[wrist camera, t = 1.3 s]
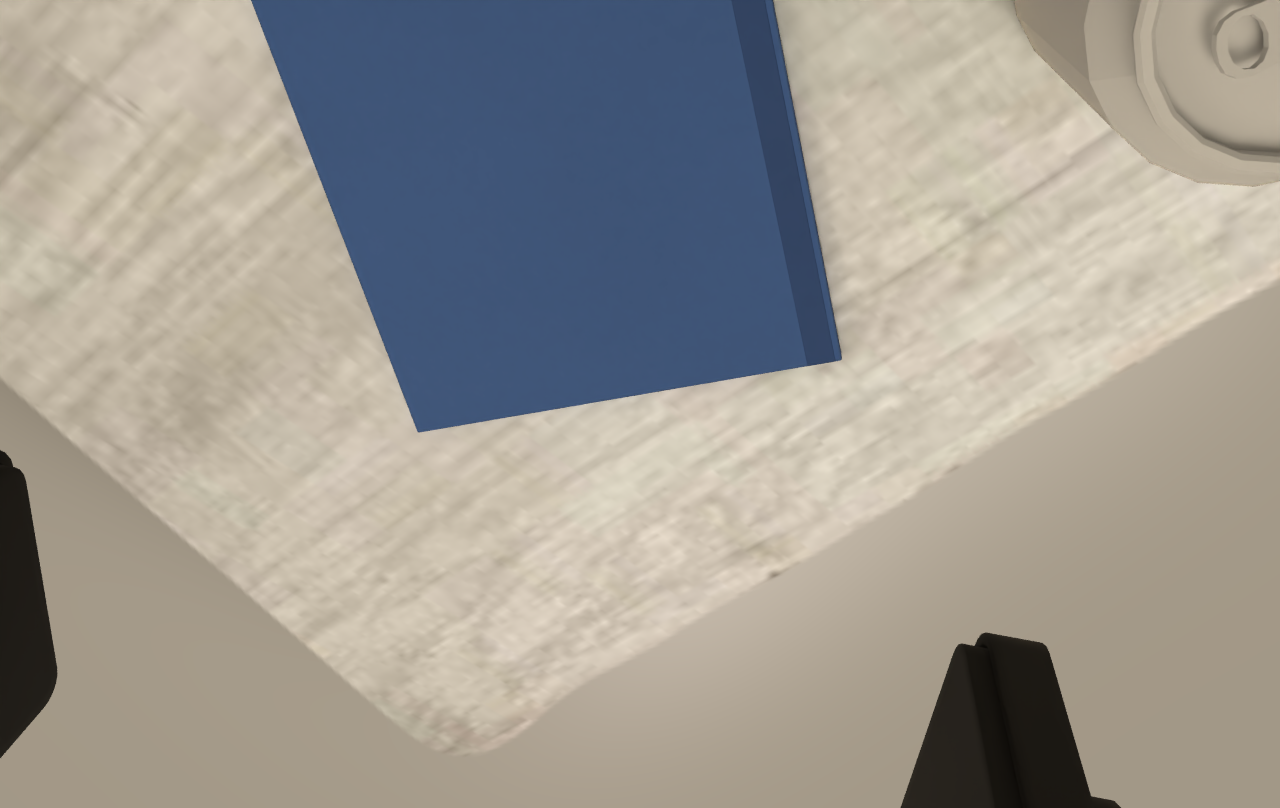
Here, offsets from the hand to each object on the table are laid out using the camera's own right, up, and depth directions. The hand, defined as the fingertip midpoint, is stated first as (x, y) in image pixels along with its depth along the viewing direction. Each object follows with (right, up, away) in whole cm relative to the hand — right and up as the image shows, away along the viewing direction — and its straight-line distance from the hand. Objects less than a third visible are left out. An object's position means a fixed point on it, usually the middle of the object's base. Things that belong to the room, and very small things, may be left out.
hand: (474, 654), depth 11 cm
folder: (-2, +12, +25) cm, 28 cm away
